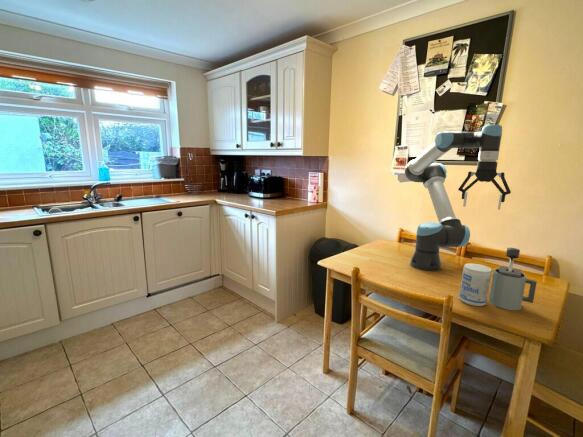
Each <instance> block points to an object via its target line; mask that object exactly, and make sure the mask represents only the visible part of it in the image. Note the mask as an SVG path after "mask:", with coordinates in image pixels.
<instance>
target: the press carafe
mask: <svg viewBox="0 0 583 437" xmlns="http://www.w3.org/2000/svg"><path fill="white" fill-rule="evenodd" d="M508 268H509V266H504V265H499V267H495V268H493V270H492V271H493V272H492V276H491V283H490V284H491V285H490V289H489V296H488V302H489V303H490V304H491V305H493V306H494V307H497V308H500V309H504V310H508V311H518V310H521V309H522V304H523V302H526V303H530V304H533V303H534V298H535V295H536V294H535V293H536V289H537V283H538V281H537V280H536V279H535V280H534V279H530V278H527V274H526V273H523V272H522V269H519V268H516V267H515V268H514V267H513V268H512V272H510V271H508ZM509 276H511V277H509ZM526 284H527V285H528V284H529V290H528V295H527V296H524V293H525V289H526V288H525V287H526Z"/></svg>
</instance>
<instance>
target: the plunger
mask: <svg viewBox="0 0 583 437" xmlns="http://www.w3.org/2000/svg"><path fill="white" fill-rule="evenodd" d="M505 253H506V254H505V256H506V257H508V258H509V264H508V267H509V268H508V271H510V272H512V268H514V260H515V259H519V258H520V253H521V250H520V249H519V248H515V247H507V248H506V252H505ZM509 277H511V276H509Z"/></svg>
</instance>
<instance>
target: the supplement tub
mask: <svg viewBox="0 0 583 437" xmlns="http://www.w3.org/2000/svg"><path fill="white" fill-rule="evenodd" d="M492 271H493V270H492V269H491V267H489V266H487V265H484V264H479V263H471V262H470V263H464V266H463V268H462V274H461V281H460V287H459V288H460V289H459V294H458V295H459V296H458V297H459V299H460V301H461V302H463V303H465V304H467V305H470V306H475V307H484V306H485V305H486V304H487V303H488V302H487V301H488V297H489V292H490V286H491V285H490V284H491V280H492Z"/></svg>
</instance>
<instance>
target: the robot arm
mask: <svg viewBox="0 0 583 437" xmlns="http://www.w3.org/2000/svg"><path fill="white" fill-rule="evenodd" d="M481 128H482V129H481V131H453V130H452V131H450V130H445V131H439V132H437V133H436V136H435V138H434V142H433V143H432V144H431V145H430V146H429V147H428V148H426V149H425V150H424V151H422V152H421V153H420V155H418V156H417V157H416V158H415V159H412V160H410V161H409V162H408V163H407V164H406V166H405V168H404V174H405V177H406V178H407V179H408V180H409V181H411V182H414V183H422V184H423V188H425V189H427V192H428V194H429V196H430V199H431V203H432V206H433V207H434V208H433V209H434V212H435V214H436V217H437V220H438V222H431V221H430V222H429V221H428V222H422V223H420V224H419V225H417V228H416V240H415V249H414V252H413V255H412V257H411V260H410V266H412V267H413V268H416V269H419V270H421V271H433V272H436V271H440V270H441V269H442V261H441V256H440V249H441V248H461V247H464V246H466V245H467V244H468V243H469V241H470V238H471V231H470V228H469V227H468V226H467V225H466V224H462V222H461V219H459V218H457V217H456V214H455V212H454V210H453V207H452V204H451V200H450V198H449V196H448V192H447V190H446V186H445V185H444V183H445V181H446V178H447V173H448V172H447V169H446V166H445V165H444V164H442V163H441V162H440V163H439V162H436V161H437V160H438V159H440V158H441V157H442V156H444V155H445V154H446V153H448V152H450V150H452V149H467V150H469V149H470V150H472V149H473V150H474V149H479V150H478V151H479V152H478V157H477V160H478V161H477V166H476V170H475V172H474V171H468V172H467V176H466V177H465V179H464V180H463V182H462V183H461V184H460V186H459V188H458V189H457V190H458V191H460V192H461V193H462V194H461V200H463V207H466V205H467V199H468V192H467V191H468V190H469V189H471V188H472V187H473V186H475V184H477V183H478V182H482V183H483V182H485V183H490V182H491V183H492V184H493V186H495V187H496V189H498V191H499V192H500V194H499V200H498V207H497V210H498V211H500V210H501V206H502V203H505V200H506V196H507V195H510V194H511V193H512V191H511V189H510V187H509V185H508V182H507V180H506V177H505V172H503V171H502V172H497V170H498V160H499V155H500V149H501V148H500V147H501V142H502V141H501V140H502V136H503V126H502V125H501V124H487V125H483V126H482V127H481ZM473 176H475V179H474V180H472V182H471V183H469V184H468V185H467V186H466V184H467V183H468V181H469V180H470V179H471V177H473ZM497 176H498V177H499V178H500V179H501V182H502V184H503V186H504V188H505V190H504V188H502V186H501V185H500V184H499V183H498V182H497V180H496V179H495V178H496V177H497ZM465 186H466V187H465ZM464 187H465V188H464Z"/></svg>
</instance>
